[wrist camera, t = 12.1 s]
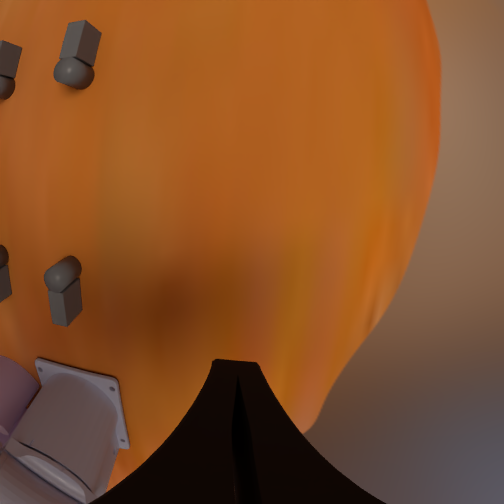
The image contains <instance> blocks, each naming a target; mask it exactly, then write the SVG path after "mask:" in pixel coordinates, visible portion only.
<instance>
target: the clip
mask: <svg viewBox="0 0 504 504" xmlns="http://www.w3.org/2000/svg"><path fill="white" fill-rule="evenodd" d="M38 389H39V384H38V383H37V381H36V380H35V379H34V378H33V377H32V376H31V375H30V374H29V373H28V372H27V371H26V370H25V369H24V368H23V367H22V366H20V365H19V364H18V363H16V362H15V361H13V360H11V359H9V358H7V357H5V356H1V355H0V442H1V443H2V444H3V445H4V444H5V443H6V442H7V441H8V439H9V438H10V436H11V435H12V433H13V431H14V430H15V428H16V427H17V425H18V423H19V422H20V420H21V419H22V417H23V416H24V414H25V412H26V411H27V408H26V406H27V405H28V403H29V402H30V400H31V399H32V397H33V396H34V395H35V393H36V392H37V390H38ZM3 445H2V446H3Z"/></svg>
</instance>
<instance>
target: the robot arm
mask: <svg viewBox="0 0 504 504" xmlns="http://www.w3.org/2000/svg"><path fill="white" fill-rule="evenodd" d="M35 365H36V368H37V372H38V375H39V378H40V381H41V385H42V388H41V390H40V391H39V393H38V394H37V396H36V397H35V399H34V400H33V402H32V403H31V405H30V406H29V408H28V409H27V411H26V412H25V414H24V416H23V417H22V419H21V420H20V422H19V423H18V425H17V427H16V428H15V430H14V431H13V433H12V435H11V436H10V438H9V439H8V441H7V442H6V443H5V444H4V445H3V444H2V443H1V442H0V504H386V503H384V502H382V501H381V500H379V499H377V498H376V497H374V496H372V495H371V494H369V493H368V492H366V491H364V490H363V489H361V488H360V487H359V486H357V485H356V484H355V483H353V482H352V481H351V480H350V479H348V478H347V477H346V476H344V475H343V474H342V473H341V472H339V471H338V470H337V469H336V468H335V467H333V466H332V465H331V464H330V463H329V462H328V461H327V460H326V459H325V458H324V457H323V456H322V455H320V453H319V452H318V451H317V450H316V449H315V448H314V447H313V446H312V445H311V444H310V443H309V442H308V440H307V439H306V438H305V437H304V436H303V435H302V433H301V432H300V431H299V430H298V428H297V427H296V426H295V424H294V423H293V422H292V421H291V419H290V418H289V416H288V415H287V414H286V412H285V411H284V409H283V408H282V406H281V404H280V403H279V401H278V400H277V398H276V397H275V395H274V393H273V392H272V390H271V388H270V386H269V385H268V383H267V381H266V379H265V377H264V375H263V373H262V371H261V369H260V366H259V365H258V364H257V363H256V362H246V361H234V360H224V359H215V360H214V361H212V366H211V369H210V372H209V375H208V377H207V379H206V381H205V383H204V385H203V387H202V389H201V391H200V393H199V394H198V396H197V398H196V400H195V401H194V403H193V404H192V406H191V407H190V409H189V410H188V412H187V413H186V415H185V416H184V418H183V419H182V420H181V422H180V423H179V425H178V426H177V427H176V428H175V430H174V431H173V432H172V433H171V435H170V436H169V437H168V438H167V439H166V440H165V441H164V443H163V444H162V445H161V446H160V447H159V448H158V449H157V450H156V451H155V452H154V453H153V454H152V455H151V456H150V457H149V458H148V459H147V460H146V461H145V462H144V463H143V464H142V465H141V466H140V467H138V468H137V469H136V470H135V471H134V472H132V473H131V474H130V475H129V476H127V477H126V478H125V479H124V480H122V481H121V482H120V483H118V484H117V485H116V486H115V487H113V488H112V489H110V490H109V491H108V492H106V489H107V486H108V483H109V479H110V476H111V473H112V469H113V466H114V463H115V460H116V457H117V453H118V450H119V448H122V449H129V447H130V443H129V438H128V434H127V429H126V424H125V419H124V414H123V408H122V402H121V397H120V390H119V384H118V381H117V380H116V379H115V378H113V377H109V376H104V375H100V374H96V373H91V372H87V371H83V370H79V369H76V368H72V367H68V366H65V365H61V364H57V363H54V362H51V361H47V360H44V359H41V358H37V359H36V360H35ZM112 387H113V388H112ZM2 445H3V446H2ZM234 488H235V491H234ZM105 492H106V493H105Z"/></svg>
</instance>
